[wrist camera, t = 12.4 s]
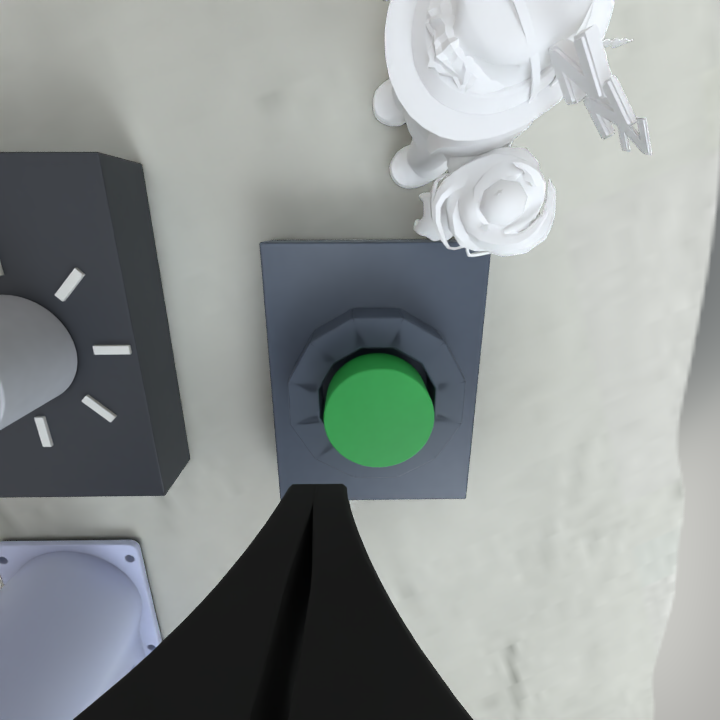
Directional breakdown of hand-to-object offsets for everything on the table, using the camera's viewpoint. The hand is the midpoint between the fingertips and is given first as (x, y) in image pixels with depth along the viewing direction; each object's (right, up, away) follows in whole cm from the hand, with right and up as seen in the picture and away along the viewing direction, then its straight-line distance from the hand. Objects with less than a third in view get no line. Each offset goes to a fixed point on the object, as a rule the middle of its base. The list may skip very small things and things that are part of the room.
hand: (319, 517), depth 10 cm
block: (+2, +3, +10) cm, 10 cm away
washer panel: (-12, +5, +9) cm, 16 cm away
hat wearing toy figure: (+3, +13, +6) cm, 15 cm away
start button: (+2, +2, +6) cm, 7 cm away
